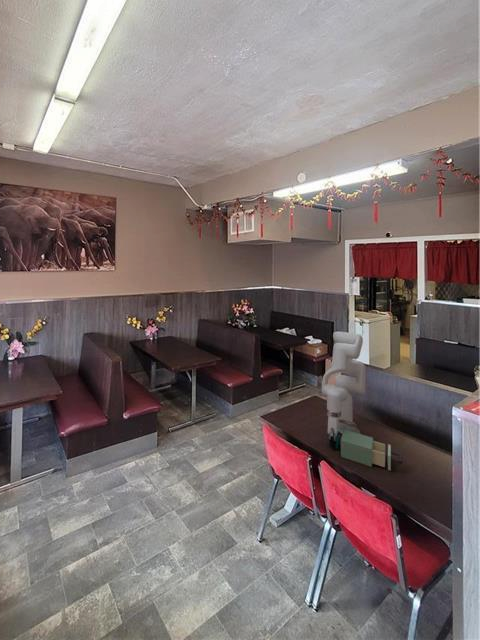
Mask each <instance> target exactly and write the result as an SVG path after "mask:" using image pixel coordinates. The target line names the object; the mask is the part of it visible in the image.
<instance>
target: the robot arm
mask: <svg viewBox="0 0 480 640" xmlns="http://www.w3.org/2000/svg"><path fill="white" fill-rule="evenodd" d="M332 338H333V341H334V344H333V348H332V358H331V367H330V368H329V369H328V370H326V372H325V373H324V374H323V377H322V380H321V381H322V382H321V394H322V396H323V397H325V398H326V415H327V417H328V418H327V435H330V446H329V447H331V448H332V449H333V448H334V449H337V448H336V441H335V437H336V436H337V435H338V436H339V432H338V431H339V419H343V420H346V421H348V422H351V423H354V424H356V423H355V422H354V421H353V418H354V412H353V408H354V407H353V406H354V400H353V396H352V394H355V395H359V396H362V395H364V394H365V392H366V366H365V363H364V362H363V361H360V360H357V359H359V357H360V355H361V352H362V347H363V344H364V339H363V336H362V335H361V334H359V333H355V332H346V331H334V332H333V334H332ZM339 373H342V374H339ZM337 374H338V375H337ZM344 374H346V375H344ZM333 375H336V376H335V378H334V384H329V379H330V378H331V376H333ZM349 375H350V376H349ZM353 376H355V377H353ZM334 434H335V435H334ZM333 436H334V437H333Z"/></svg>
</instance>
